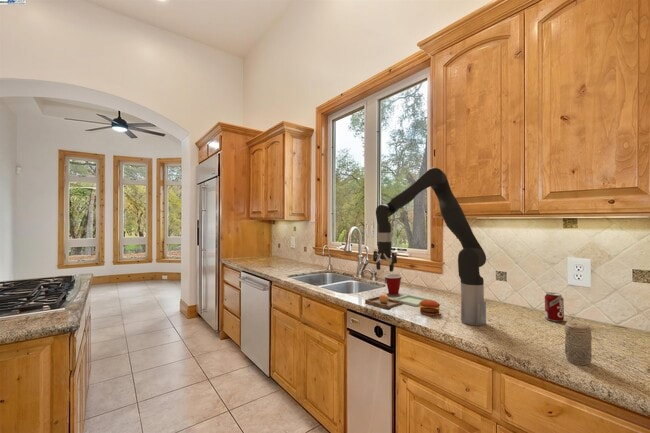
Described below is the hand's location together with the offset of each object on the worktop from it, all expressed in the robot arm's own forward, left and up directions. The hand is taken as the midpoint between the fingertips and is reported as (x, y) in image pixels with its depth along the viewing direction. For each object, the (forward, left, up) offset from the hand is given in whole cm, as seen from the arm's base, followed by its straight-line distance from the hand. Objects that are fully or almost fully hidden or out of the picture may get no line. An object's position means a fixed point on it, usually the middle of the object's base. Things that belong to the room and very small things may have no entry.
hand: (384, 270), depth 159 cm
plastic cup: (+11, -22, -19) cm, 30 cm away
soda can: (-66, -38, -19) cm, 79 cm away
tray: (+1, 0, -18) cm, 18 cm away
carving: (-81, +6, -19) cm, 84 cm away
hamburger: (-24, -4, -19) cm, 31 cm away
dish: (-7, -15, -18) cm, 25 cm away
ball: (0, 0, -18) cm, 18 cm away
